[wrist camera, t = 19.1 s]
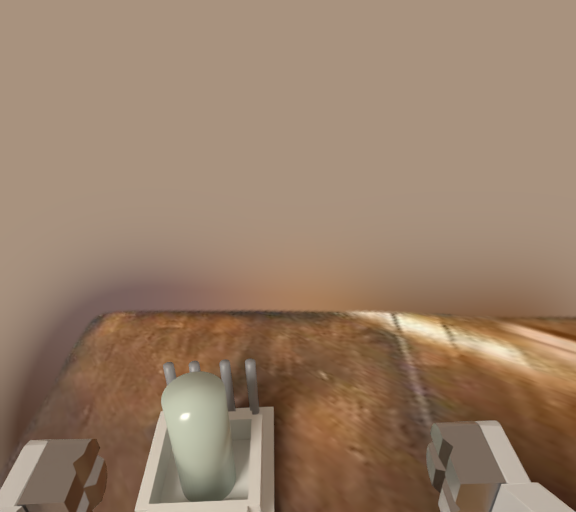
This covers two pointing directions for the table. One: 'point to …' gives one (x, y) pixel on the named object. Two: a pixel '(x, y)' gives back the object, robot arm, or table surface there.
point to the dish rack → (246, 447)
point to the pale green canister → (200, 435)
